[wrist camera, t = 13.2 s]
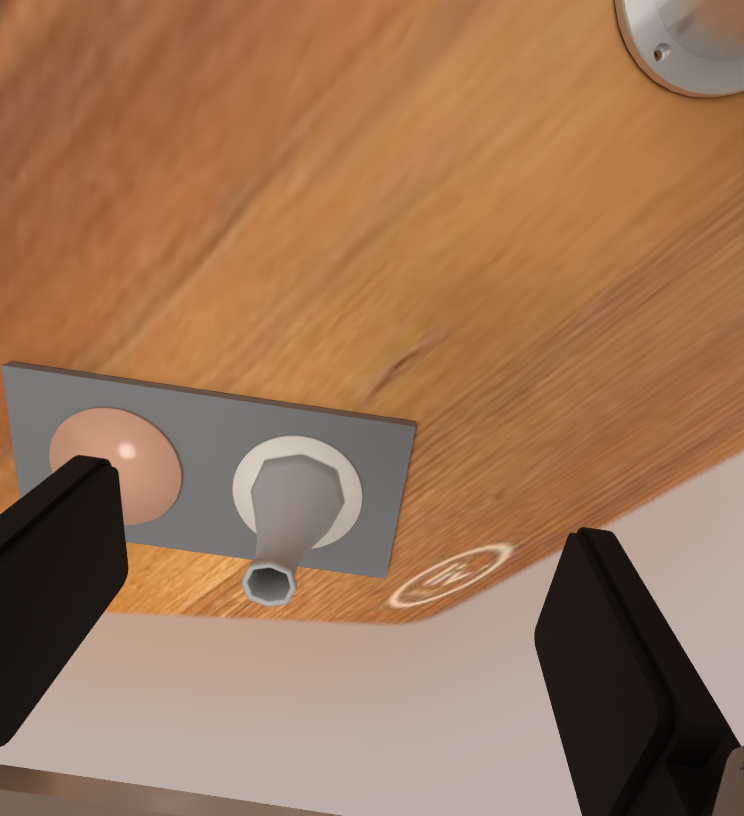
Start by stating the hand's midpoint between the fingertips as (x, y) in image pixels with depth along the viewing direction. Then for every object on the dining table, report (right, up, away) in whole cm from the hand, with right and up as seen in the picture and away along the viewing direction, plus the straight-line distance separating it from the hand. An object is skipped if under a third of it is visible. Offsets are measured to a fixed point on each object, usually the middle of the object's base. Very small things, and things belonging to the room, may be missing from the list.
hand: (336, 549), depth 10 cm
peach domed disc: (-19, -2, +28) cm, 33 cm away
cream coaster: (-5, -4, +28) cm, 29 cm away
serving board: (-12, -2, +29) cm, 31 cm away
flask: (-5, -4, +28) cm, 28 cm away
